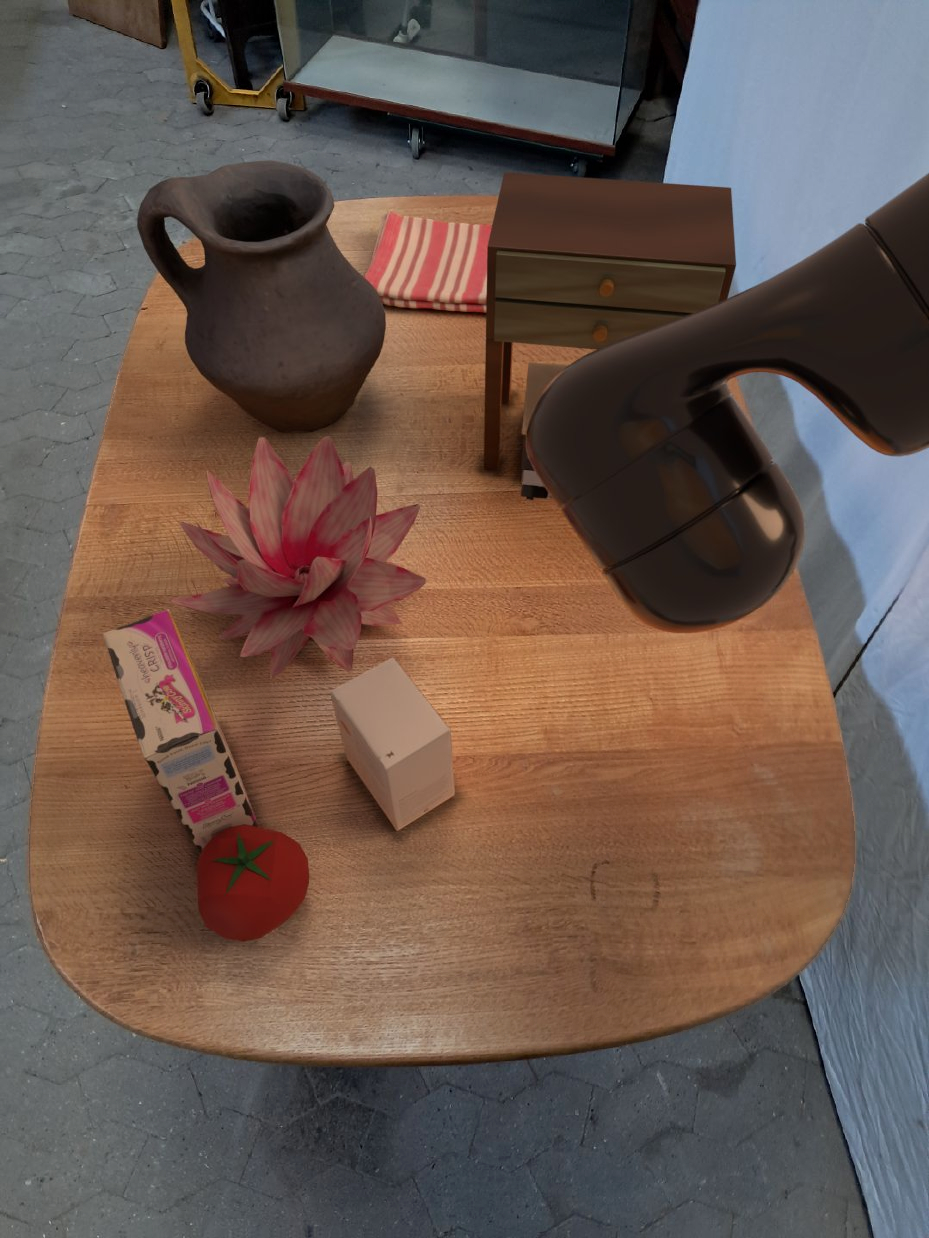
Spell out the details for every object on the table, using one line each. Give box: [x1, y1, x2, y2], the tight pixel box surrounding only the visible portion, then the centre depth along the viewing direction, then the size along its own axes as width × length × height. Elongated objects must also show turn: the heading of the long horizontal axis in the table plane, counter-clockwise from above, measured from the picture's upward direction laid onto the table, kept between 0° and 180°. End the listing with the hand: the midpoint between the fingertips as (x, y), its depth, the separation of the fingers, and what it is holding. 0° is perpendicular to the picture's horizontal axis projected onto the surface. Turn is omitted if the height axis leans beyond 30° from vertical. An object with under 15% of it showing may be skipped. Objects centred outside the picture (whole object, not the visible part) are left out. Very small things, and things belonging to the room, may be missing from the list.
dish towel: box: [363, 210, 492, 314], centre depth 113 cm, size 17×23×4 cm
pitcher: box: [136, 160, 387, 434], centre depth 90 cm, size 21×22×25 cm
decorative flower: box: [170, 435, 427, 680], centre depth 77 cm, size 21×21×15 cm
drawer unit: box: [483, 171, 737, 471], centre depth 86 cm, size 13×20×25 cm
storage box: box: [520, 361, 570, 482], centre depth 93 cm, size 10×10×7 cm
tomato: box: [196, 824, 310, 943], centre depth 64 cm, size 8×8×7 cm
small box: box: [329, 656, 456, 832], centre depth 69 cm, size 8×6×10 cm
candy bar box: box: [102, 609, 260, 855], centre depth 66 cm, size 11×5×16 cm, turn 27°
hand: (613, 486), depth 65 cm, fingers closed
